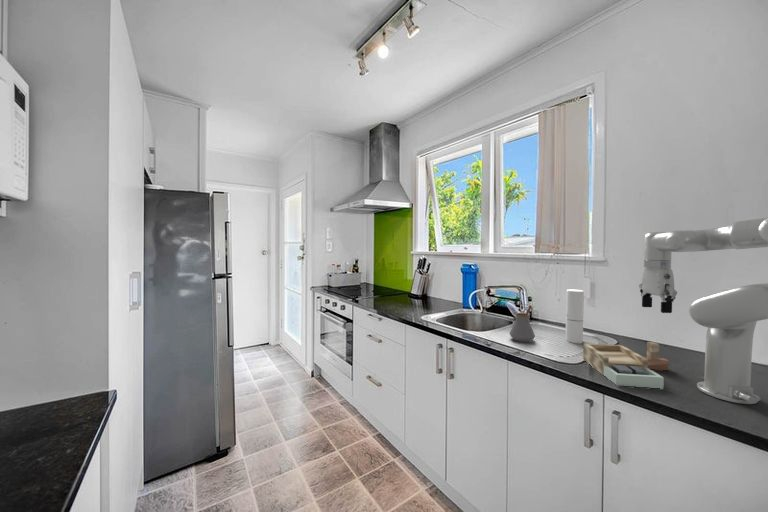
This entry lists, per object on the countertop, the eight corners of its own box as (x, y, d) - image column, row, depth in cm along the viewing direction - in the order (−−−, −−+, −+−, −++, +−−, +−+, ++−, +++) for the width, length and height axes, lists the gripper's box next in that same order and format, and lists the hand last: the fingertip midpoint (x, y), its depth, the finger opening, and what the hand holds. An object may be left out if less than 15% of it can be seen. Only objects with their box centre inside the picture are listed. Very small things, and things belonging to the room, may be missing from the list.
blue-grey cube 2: (624, 376, 105) (631, 381, 101) (611, 375, 106) (618, 381, 102) (624, 365, 105) (632, 370, 101) (612, 364, 106) (619, 369, 102)
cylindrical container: (577, 338, 149) (578, 289, 148) (585, 343, 142) (587, 291, 140) (562, 338, 149) (563, 289, 148) (570, 343, 142) (571, 291, 141)
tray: (663, 389, 98) (663, 377, 97) (615, 386, 100) (616, 374, 100) (647, 379, 105) (647, 367, 105) (603, 376, 107) (603, 365, 107)
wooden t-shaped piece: (668, 370, 111) (669, 344, 111) (640, 369, 113) (641, 343, 113) (663, 368, 114) (664, 342, 113) (636, 366, 115) (637, 341, 115)
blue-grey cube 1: (641, 377, 104) (649, 383, 100) (628, 376, 105) (635, 382, 101) (641, 366, 104) (649, 371, 100) (628, 365, 105) (636, 370, 101)
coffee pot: (531, 345, 140) (531, 314, 139) (506, 340, 147) (506, 310, 146) (542, 334, 156) (543, 306, 155) (519, 330, 163) (520, 303, 162)
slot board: (647, 379, 105) (648, 359, 105) (603, 376, 107) (603, 357, 107) (621, 362, 120) (621, 345, 119) (583, 360, 122) (583, 343, 122)
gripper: (688, 266, 103) (686, 315, 103) (651, 263, 120) (650, 305, 120) (663, 266, 104) (662, 315, 104) (630, 263, 121) (629, 304, 122)
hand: (656, 309), depth 112 cm, fingers open, 9 cm apart
